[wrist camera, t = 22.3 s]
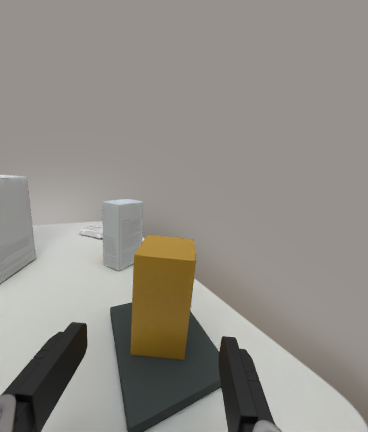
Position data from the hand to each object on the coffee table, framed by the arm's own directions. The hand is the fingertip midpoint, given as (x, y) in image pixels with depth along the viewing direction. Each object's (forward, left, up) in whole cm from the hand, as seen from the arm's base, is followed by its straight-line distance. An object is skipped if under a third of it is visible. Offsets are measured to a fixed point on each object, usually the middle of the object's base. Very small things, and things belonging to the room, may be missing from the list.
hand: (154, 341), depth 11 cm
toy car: (+42, +2, -8) cm, 43 cm away
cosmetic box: (+25, -2, -8) cm, 27 cm away
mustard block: (+6, -3, -7) cm, 10 cm away
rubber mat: (+6, -3, -8) cm, 11 cm away
